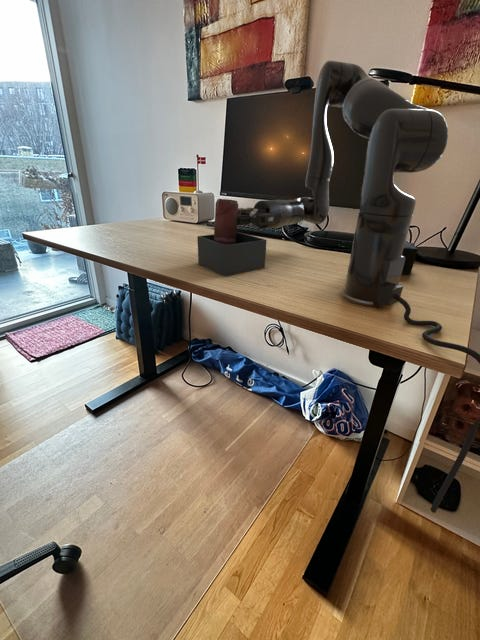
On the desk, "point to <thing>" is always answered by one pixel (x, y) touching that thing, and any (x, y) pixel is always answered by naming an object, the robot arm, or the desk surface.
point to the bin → (232, 254)
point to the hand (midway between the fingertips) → (226, 218)
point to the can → (225, 221)
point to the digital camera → (409, 257)
